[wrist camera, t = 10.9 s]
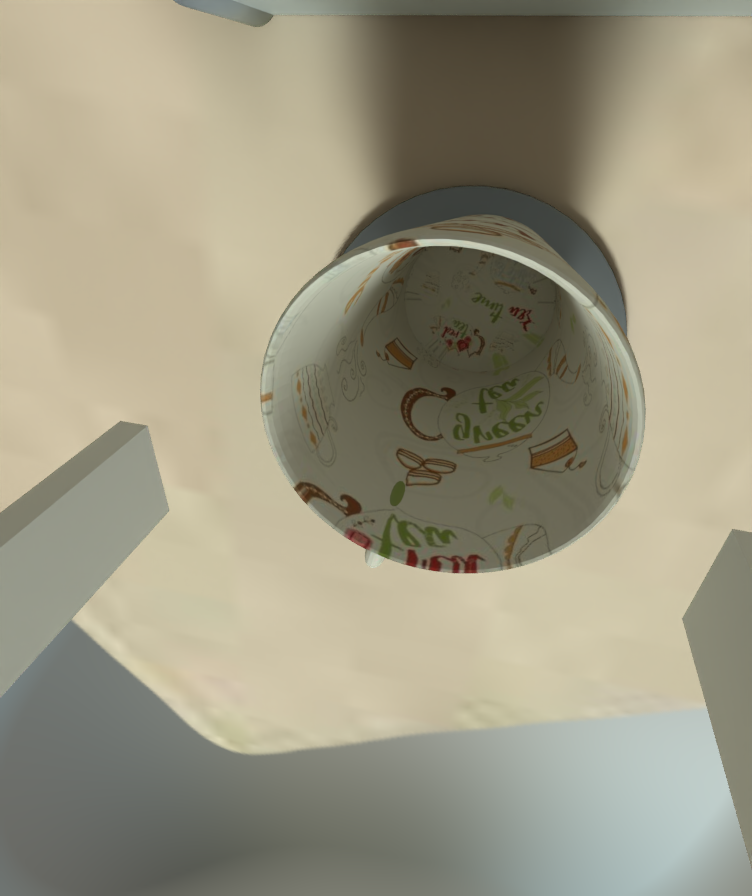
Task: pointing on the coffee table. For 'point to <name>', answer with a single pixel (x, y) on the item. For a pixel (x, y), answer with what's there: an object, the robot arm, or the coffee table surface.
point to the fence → (465, 8)
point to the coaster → (514, 206)
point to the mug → (454, 398)
